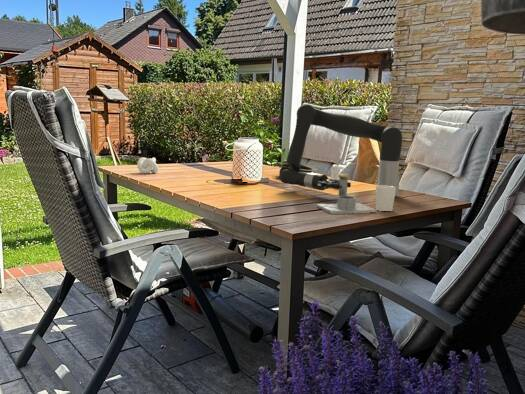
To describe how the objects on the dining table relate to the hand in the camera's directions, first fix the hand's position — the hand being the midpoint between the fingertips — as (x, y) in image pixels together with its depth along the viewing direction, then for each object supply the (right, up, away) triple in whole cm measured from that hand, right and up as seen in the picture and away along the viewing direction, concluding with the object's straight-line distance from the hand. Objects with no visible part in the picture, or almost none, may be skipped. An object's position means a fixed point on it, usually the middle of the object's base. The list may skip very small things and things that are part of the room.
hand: (344, 186), depth 220 cm
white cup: (+14, -11, -15) cm, 23 cm away
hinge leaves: (-2, -10, -17) cm, 20 cm away
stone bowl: (-17, +6, +71) cm, 73 cm away
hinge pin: (-1, -7, +2) cm, 7 cm away
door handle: (-44, +3, +50) cm, 66 cm away
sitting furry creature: (+1, 0, +43) cm, 43 cm away
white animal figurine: (-104, +9, +66) cm, 124 cm away
